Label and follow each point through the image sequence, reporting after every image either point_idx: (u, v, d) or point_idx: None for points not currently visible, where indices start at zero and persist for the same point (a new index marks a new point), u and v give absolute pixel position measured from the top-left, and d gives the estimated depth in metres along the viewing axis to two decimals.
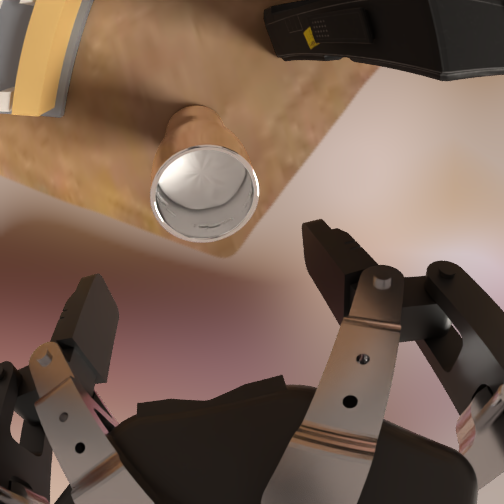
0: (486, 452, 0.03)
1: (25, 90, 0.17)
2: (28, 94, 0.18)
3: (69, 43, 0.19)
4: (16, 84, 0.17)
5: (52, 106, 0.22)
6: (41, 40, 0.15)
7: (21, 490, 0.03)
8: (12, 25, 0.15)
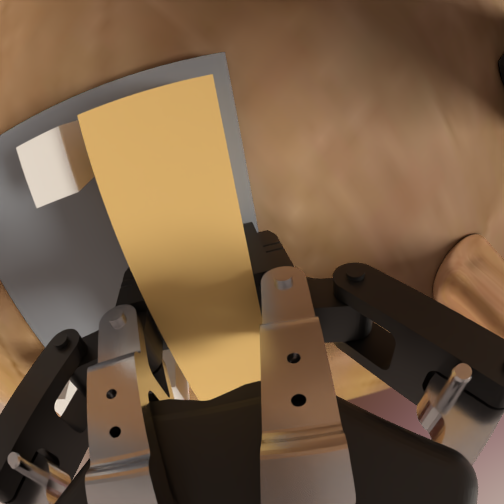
0: (462, 431, 0.04)
1: None
2: None
3: None
4: (196, 389, 0.11)
5: None
6: (214, 301, 0.09)
7: (45, 466, 0.04)
8: (51, 240, 0.11)
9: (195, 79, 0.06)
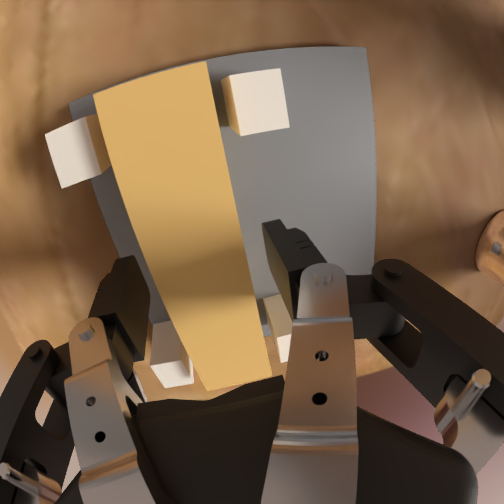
0: (473, 438, 0.04)
1: (222, 355, 0.12)
2: (234, 358, 0.12)
3: (364, 192, 0.14)
4: (191, 353, 0.12)
5: None
6: (207, 259, 0.10)
7: (34, 475, 0.04)
8: None
9: (191, 65, 0.07)
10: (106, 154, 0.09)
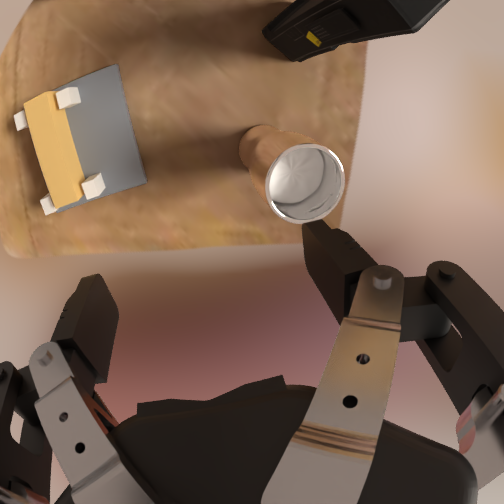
0: (486, 452, 0.03)
1: (57, 186, 0.27)
2: (62, 188, 0.28)
3: (123, 123, 0.29)
4: (48, 185, 0.27)
5: None
6: (49, 145, 0.25)
7: (21, 490, 0.03)
8: None
9: (43, 93, 0.22)
10: None
